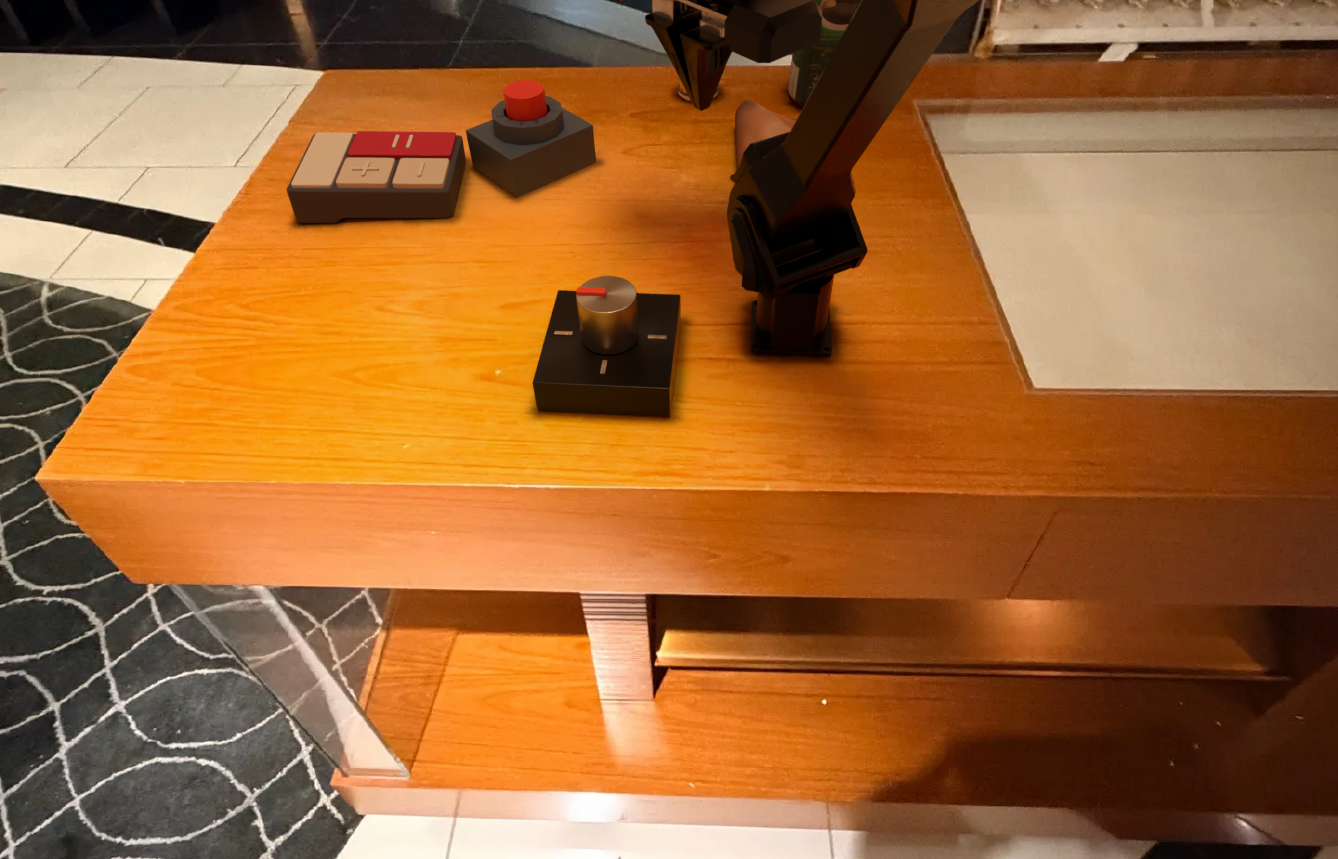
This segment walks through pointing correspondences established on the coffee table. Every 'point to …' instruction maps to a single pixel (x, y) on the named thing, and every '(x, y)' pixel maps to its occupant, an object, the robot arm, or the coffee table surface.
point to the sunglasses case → (757, 125)
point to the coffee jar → (819, 48)
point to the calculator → (378, 176)
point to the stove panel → (610, 363)
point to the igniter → (531, 148)
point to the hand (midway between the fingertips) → (701, 108)
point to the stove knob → (608, 314)
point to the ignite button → (525, 100)
